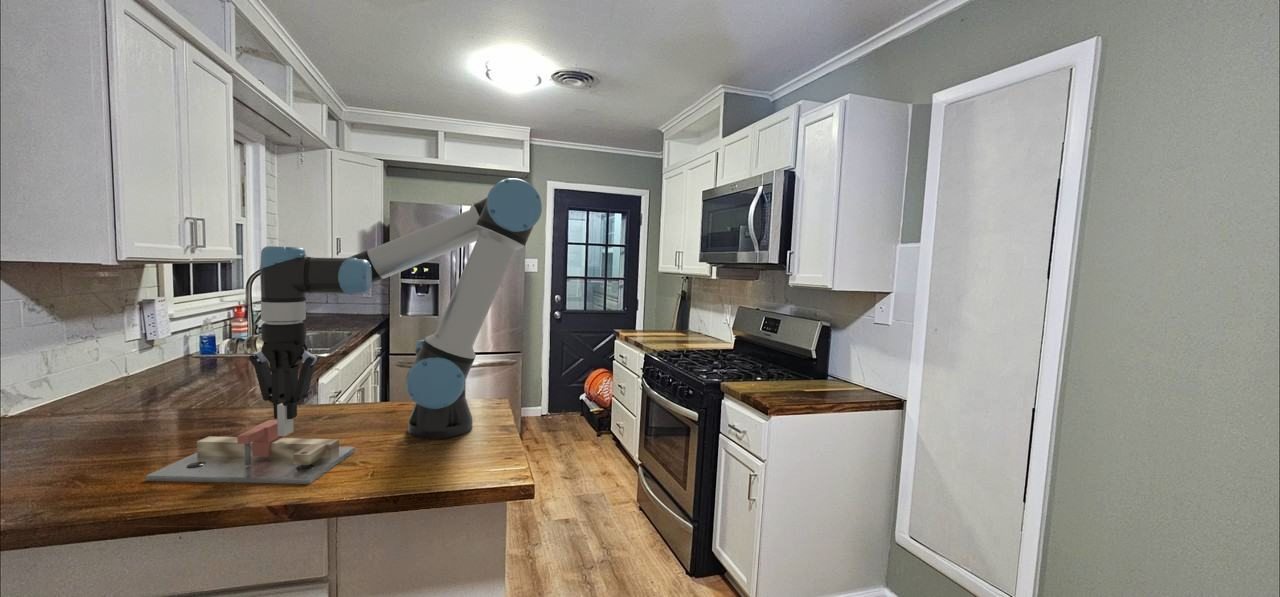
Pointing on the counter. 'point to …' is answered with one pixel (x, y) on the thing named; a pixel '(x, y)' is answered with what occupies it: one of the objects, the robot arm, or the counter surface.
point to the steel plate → (246, 469)
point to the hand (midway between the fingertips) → (285, 433)
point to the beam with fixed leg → (273, 448)
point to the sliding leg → (259, 439)
